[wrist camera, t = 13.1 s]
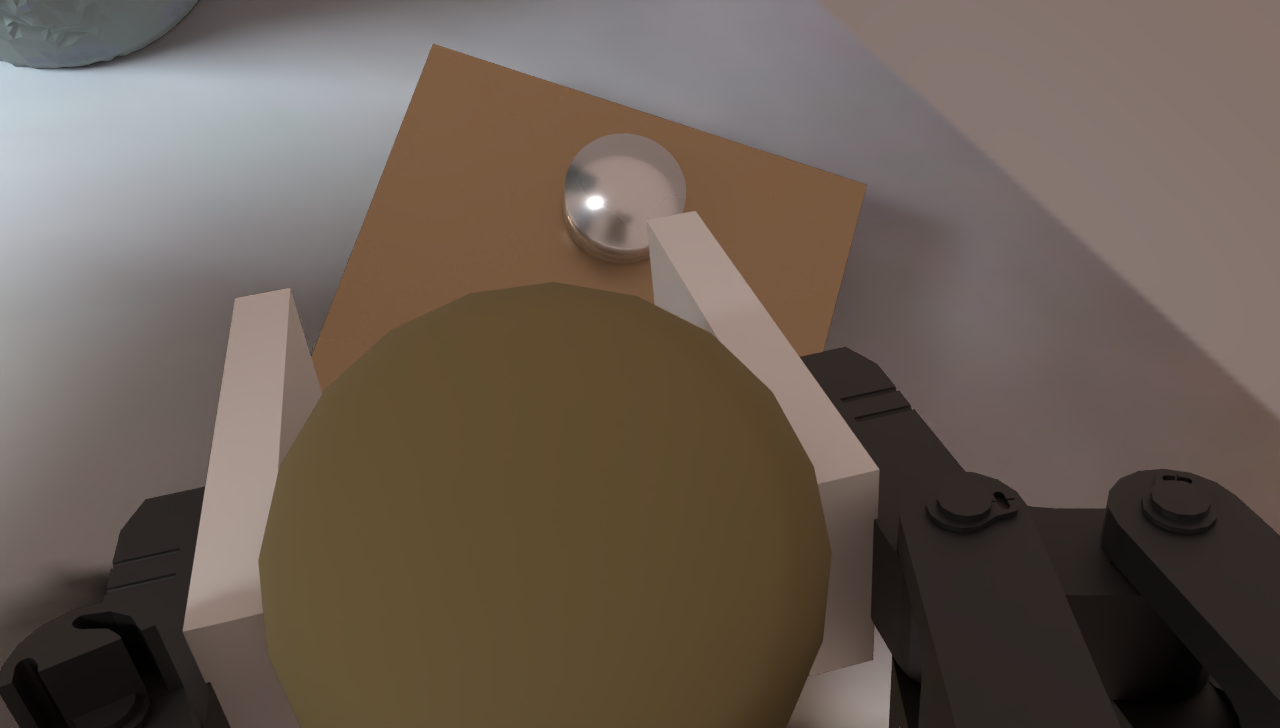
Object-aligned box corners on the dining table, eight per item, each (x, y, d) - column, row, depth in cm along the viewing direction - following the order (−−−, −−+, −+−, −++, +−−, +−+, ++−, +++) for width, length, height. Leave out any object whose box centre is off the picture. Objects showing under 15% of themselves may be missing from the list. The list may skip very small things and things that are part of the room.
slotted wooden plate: (581, 1166, 24) (594, 1276, 20) (89, 1024, 24) (0, 1107, 20) (833, 227, 30) (882, 164, 26) (441, 100, 30) (429, 17, 25)
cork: (747, 481, 20) (1001, 315, 9) (651, 820, 18) (824, 1080, 8) (432, 379, 20) (327, 93, 9) (310, 712, 18) (12, 829, 8)
